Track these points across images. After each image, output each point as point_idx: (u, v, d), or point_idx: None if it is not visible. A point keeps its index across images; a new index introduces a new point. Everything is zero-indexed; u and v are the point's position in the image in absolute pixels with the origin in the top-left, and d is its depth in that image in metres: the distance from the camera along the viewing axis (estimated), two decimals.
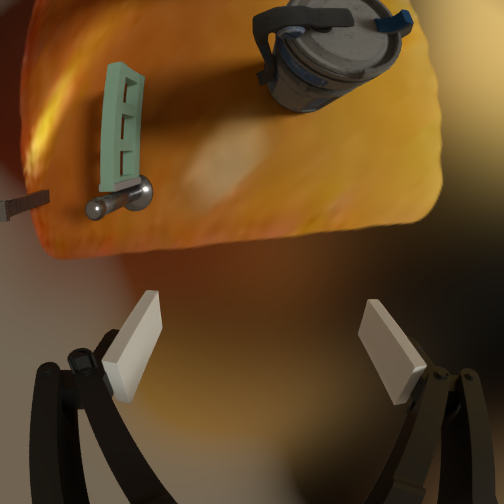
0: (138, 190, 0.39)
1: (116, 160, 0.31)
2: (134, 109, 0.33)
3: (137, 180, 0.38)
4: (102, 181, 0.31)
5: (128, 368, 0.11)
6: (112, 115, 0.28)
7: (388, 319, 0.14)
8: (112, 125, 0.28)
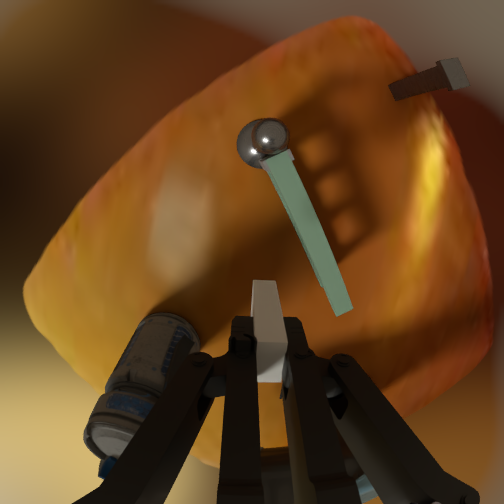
0: (256, 151, 0.30)
1: (284, 199, 0.25)
2: (306, 248, 0.32)
3: (261, 165, 0.30)
4: (290, 165, 0.23)
5: None
6: (316, 255, 0.25)
7: (273, 298, 0.16)
8: (309, 244, 0.25)
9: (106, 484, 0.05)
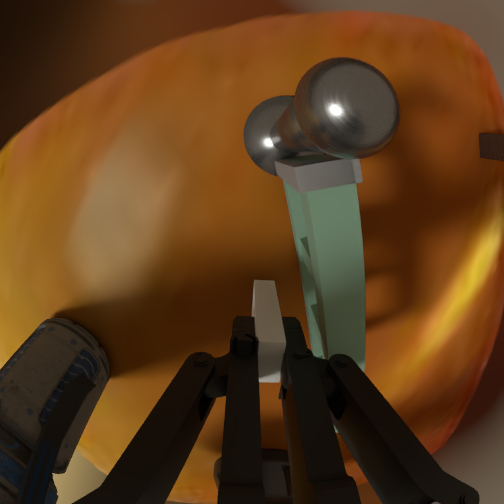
0: (273, 143, 0.17)
1: (313, 255, 0.12)
2: (313, 320, 0.20)
3: (277, 169, 0.17)
4: (350, 193, 0.10)
5: None
6: None
7: (271, 298, 0.16)
8: (333, 347, 0.13)
9: (107, 484, 0.05)
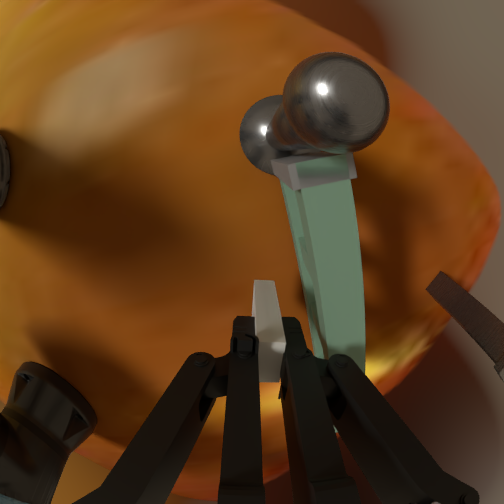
0: (266, 129, 0.17)
1: (310, 252, 0.12)
2: (313, 319, 0.20)
3: (273, 168, 0.17)
4: (344, 189, 0.10)
5: None
6: None
7: (271, 298, 0.16)
8: (332, 344, 0.13)
9: (107, 484, 0.05)
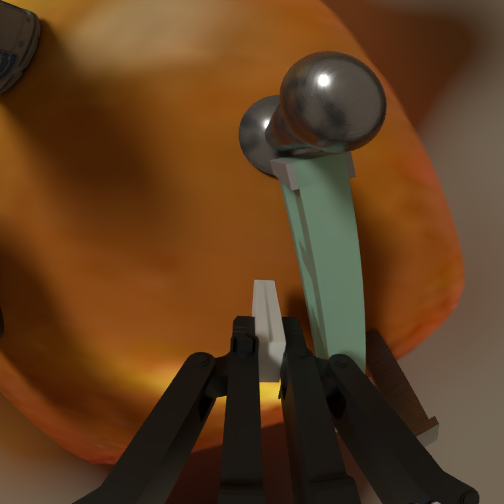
0: None
1: (309, 252, 0.12)
2: (314, 318, 0.20)
3: (273, 168, 0.17)
4: (343, 188, 0.10)
5: None
6: None
7: (271, 298, 0.16)
8: (332, 344, 0.12)
9: (107, 484, 0.05)
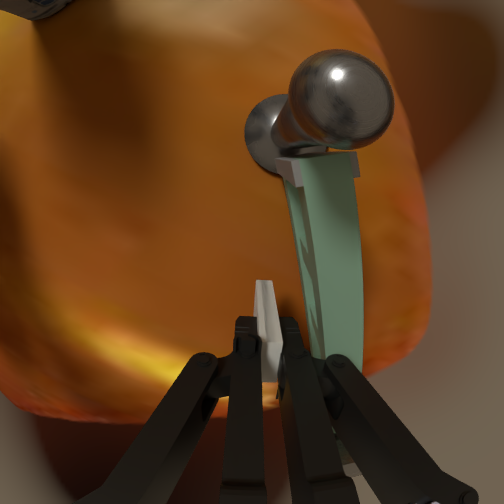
0: None
1: (310, 250, 0.12)
2: (311, 319, 0.20)
3: (277, 167, 0.17)
4: (347, 187, 0.10)
5: None
6: None
7: (268, 298, 0.16)
8: (330, 344, 0.12)
9: (109, 484, 0.05)
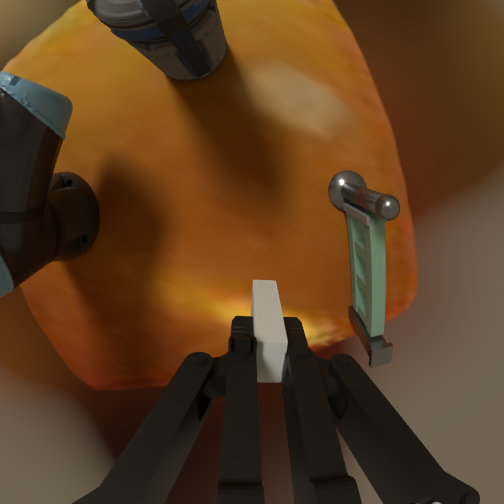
0: (346, 185, 0.36)
1: (367, 246, 0.32)
2: (357, 281, 0.39)
3: (346, 209, 0.37)
4: (382, 225, 0.30)
5: None
6: (375, 291, 0.33)
7: (273, 298, 0.16)
8: (374, 282, 0.32)
9: (106, 484, 0.05)
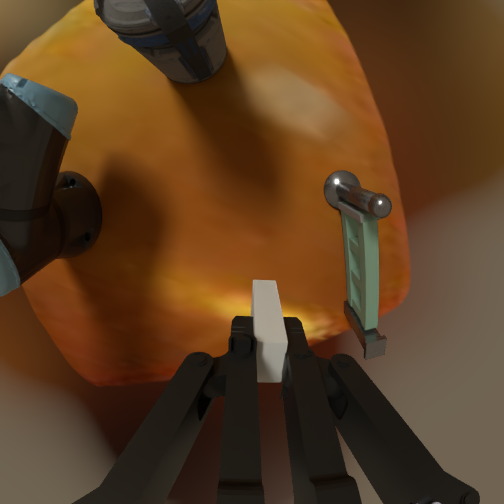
0: (341, 184, 0.38)
1: (361, 242, 0.34)
2: (352, 276, 0.41)
3: (341, 207, 0.39)
4: (375, 223, 0.32)
5: None
6: (368, 285, 0.35)
7: (273, 298, 0.16)
8: (367, 277, 0.34)
9: (106, 484, 0.05)
